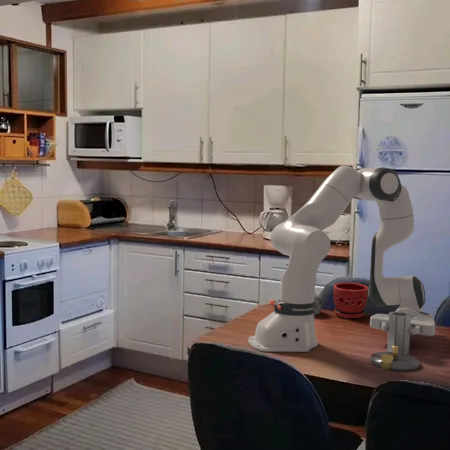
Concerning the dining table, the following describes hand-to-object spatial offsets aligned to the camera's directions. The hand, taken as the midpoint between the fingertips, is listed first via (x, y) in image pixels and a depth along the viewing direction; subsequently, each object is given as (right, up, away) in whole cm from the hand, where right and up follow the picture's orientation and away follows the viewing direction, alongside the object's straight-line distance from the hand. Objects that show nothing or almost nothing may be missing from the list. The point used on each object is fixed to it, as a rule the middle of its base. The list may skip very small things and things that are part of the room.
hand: (398, 330), depth 186 cm
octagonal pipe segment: (0, -7, +2) cm, 7 cm away
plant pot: (-6, -3, +45) cm, 46 cm away
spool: (-21, -2, +49) cm, 54 cm away
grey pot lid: (-4, -8, -10) cm, 13 cm away
